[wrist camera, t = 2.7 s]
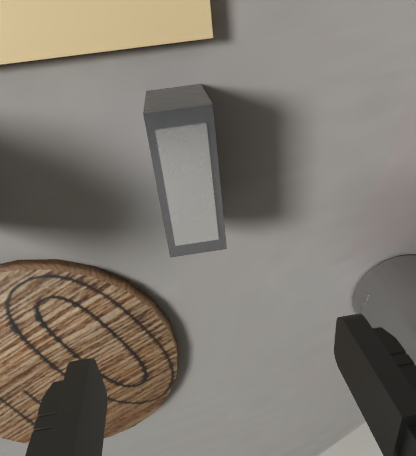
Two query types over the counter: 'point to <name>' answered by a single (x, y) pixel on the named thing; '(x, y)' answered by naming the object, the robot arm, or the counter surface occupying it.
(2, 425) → the trivet
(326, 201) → the counter surface
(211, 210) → the grey rectangular block
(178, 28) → the yellow peg board
